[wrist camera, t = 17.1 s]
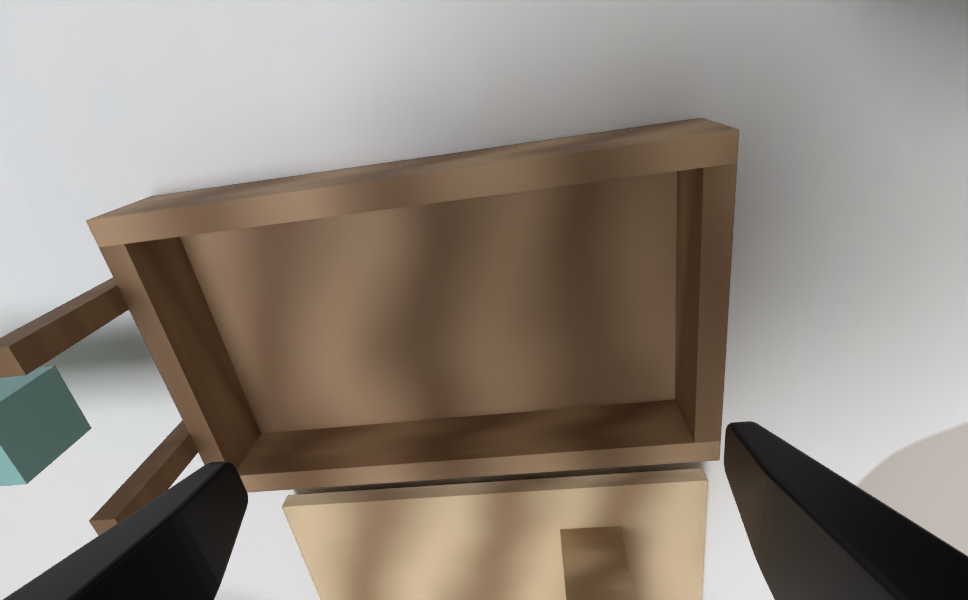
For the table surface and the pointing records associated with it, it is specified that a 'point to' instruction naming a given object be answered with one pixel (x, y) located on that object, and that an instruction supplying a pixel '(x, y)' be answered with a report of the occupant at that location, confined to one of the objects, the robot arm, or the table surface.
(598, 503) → the lid
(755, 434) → the robot arm
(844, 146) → the table surface
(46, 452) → the teal block
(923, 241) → the table surface
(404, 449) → the toolbox
